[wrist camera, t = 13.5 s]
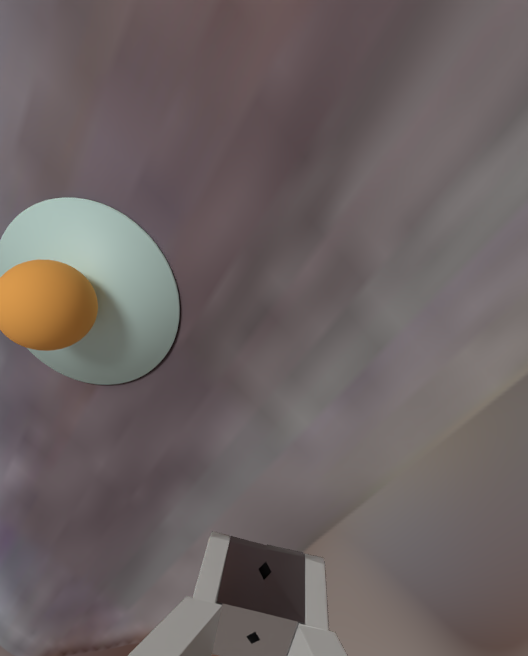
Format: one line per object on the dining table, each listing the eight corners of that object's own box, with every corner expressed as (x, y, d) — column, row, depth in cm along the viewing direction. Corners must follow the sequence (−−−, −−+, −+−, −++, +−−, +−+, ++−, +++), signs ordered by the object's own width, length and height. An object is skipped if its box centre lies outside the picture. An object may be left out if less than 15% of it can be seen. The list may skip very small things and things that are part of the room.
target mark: (189, 220, 21) (188, 220, 21) (171, 399, 26) (170, 401, 26) (-13, 179, 22) (-16, 178, 22) (4, 362, 26) (2, 363, 26)
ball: (115, 262, 23) (60, 283, 18) (113, 337, 25) (63, 376, 20) (34, 244, 23) (-44, 260, 18) (39, 321, 25) (-29, 354, 20)
